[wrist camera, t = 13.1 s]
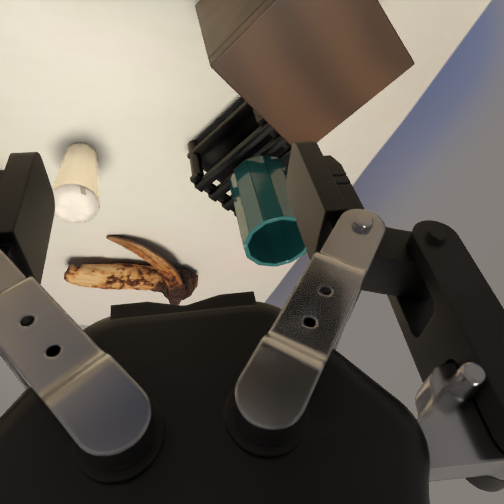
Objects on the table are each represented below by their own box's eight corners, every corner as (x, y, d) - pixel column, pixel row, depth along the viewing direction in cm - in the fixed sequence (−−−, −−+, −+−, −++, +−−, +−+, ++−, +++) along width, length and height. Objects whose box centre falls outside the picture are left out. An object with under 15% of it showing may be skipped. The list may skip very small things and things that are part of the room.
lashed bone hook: (208, 243, 61) (69, 227, 54) (213, 268, 58) (66, 254, 51) (191, 287, 67) (63, 278, 60) (195, 311, 63) (60, 304, 56)
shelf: (292, -102, 34) (339, -65, 26) (361, 8, 41) (415, 64, 33) (194, 6, 38) (209, 66, 30) (272, 89, 45) (300, 155, 37)
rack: (252, 82, 44) (266, 118, 40) (308, 140, 51) (325, 177, 46) (185, 145, 48) (190, 184, 44) (245, 191, 55) (255, 230, 50)
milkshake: (113, 142, 47) (109, 203, 40) (94, 178, 49) (87, 240, 43) (70, 123, 44) (57, 185, 37) (52, 162, 47) (38, 226, 40)
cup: (263, 144, 42) (284, 205, 36) (301, 178, 46) (325, 239, 40) (217, 183, 44) (230, 246, 38) (256, 212, 48) (273, 274, 42)
